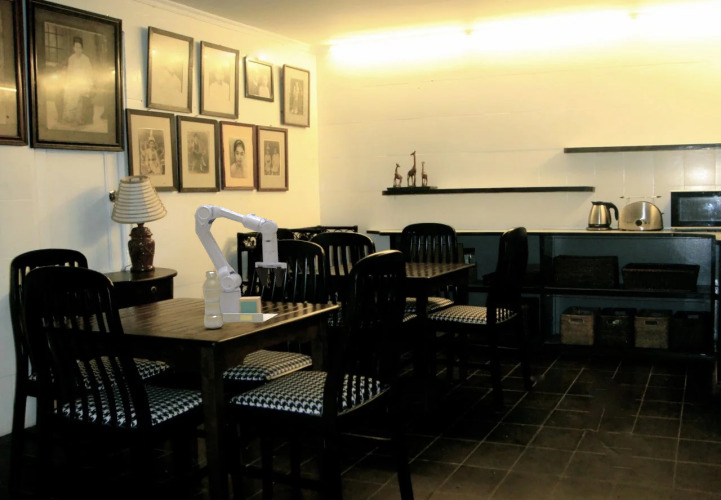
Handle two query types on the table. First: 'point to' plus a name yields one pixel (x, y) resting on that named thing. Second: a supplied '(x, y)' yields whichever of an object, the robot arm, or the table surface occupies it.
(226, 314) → the large cream panel
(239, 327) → the table surface
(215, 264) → the robot arm
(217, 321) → the plastic bottle
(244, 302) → the kraft carton
